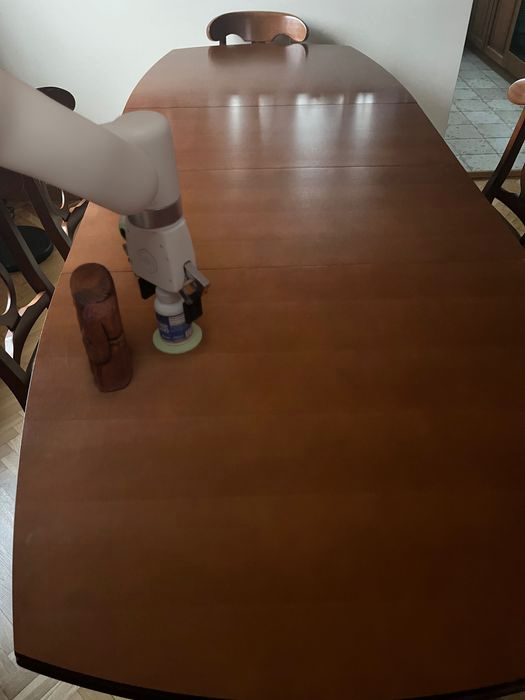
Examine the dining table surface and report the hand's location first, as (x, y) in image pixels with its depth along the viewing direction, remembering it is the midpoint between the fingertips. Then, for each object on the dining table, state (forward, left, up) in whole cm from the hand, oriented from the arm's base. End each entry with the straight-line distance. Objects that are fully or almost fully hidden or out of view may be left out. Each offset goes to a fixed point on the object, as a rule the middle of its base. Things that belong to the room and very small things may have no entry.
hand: (171, 306), depth 92 cm
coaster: (0, 0, -6) cm, 6 cm away
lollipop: (+8, +15, -7) cm, 18 cm away
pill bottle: (0, 0, -6) cm, 6 cm away
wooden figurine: (-11, +3, -7) cm, 13 cm away
